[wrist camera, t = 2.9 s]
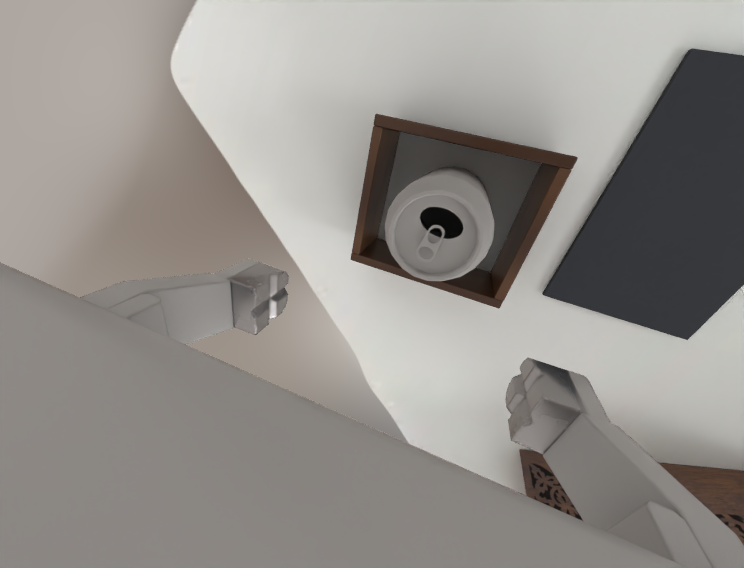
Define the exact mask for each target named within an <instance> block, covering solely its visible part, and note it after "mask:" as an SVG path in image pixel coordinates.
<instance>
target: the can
mask: <svg viewBox="0 0 744 568" xmlns="http://www.w3.org/2000/svg"><path fill="white" fill-rule="evenodd" d="M494 224H495V222H494V218H493V215H492V211H491V207H490V204H489V200H488V197H487V193H486V190H485V187H484V185H483V184H482V183H481V181H480V180H479V178H478V177H477V176H476V175H474V174H473V173H471V172H470V171H468V170H467V169H463V168H459V167H455V166H453V167H442V168H439V169H437V170H434V171H432V172H430V173H428V174H426V175H424V176H423V177H421V178H419V179H417V180H415V181H414V182H412V183H410V184H409V185H408V186H407V187H406V188H404V189H403V190H402V191H401V192H400V193H399V194H398V195H397V196H396V197H395V199H394V201H393V202H392V204H391V206H390V207H389V209H388V213H387V217H386V221H385V237H386V242H387V245H388V247H389V250H390V252H391V255H392V256H393V257H394V259H395V260H396V261H397V263H398V264H399V265H400V266H401V268H402V269H404V270H405V271H407V272H408V273H409V274H411V275H412V276H414V277H417V278H420V279H423V280H426V281H446V280H450V279H454V278H458V277H461V276H463V275H464V274H466V273H468V272H469V271H471V270H473V269H475V267H476V266H477V265H478V264H479V263H480V262H481V261H482V260H483V259H484V258H485V257H486V255H487V253H488V250H489V248H490V246H491V244H492V241H493V235H494Z"/></svg>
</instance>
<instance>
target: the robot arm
mask: <svg viewBox="0 0 744 568" xmlns="http://www.w3.org/2000/svg"><path fill="white" fill-rule="evenodd" d="M288 277H289V276H288V274H287V273H286V272H285V271H282V270H280V269H277V268H274V267H272V266H269V265H266V264H264V263H261V262H259V261H256V260H253V259H245V260H243V261H240V262H238V263H236V264H234V265H232V266H230V267H227V268H225V269H223V270H221V271H219V272H217V273H215V274H211V273H203V274H193V275H183V276H172V277H163V278H152V279H142V280H132V281H123V282H120V283H117V284H115V285H112V286H109V287H106V288H104V289H101V290H99V291H96V292H93V293H90V294H88V295H85V296H82V297H80V298H79V297H77V296H75V295H73V294H70V293H68V292H66V291H64V290H61V289H59V288H57V287H54V286H52V285H50V284H48V283H46V282H43V281H41V280H39V279H37V278H34V277H32V276H30V275H27V274H25V273H23V272H21V271H19V270H16V269H14V268H12V267H9V266H7V265H5V264H3V263H1V262H0V568H744V545H743V544H742V542H741V541H740V539H739V538H738V536H737V535H736V534H735V533H734V532H733V531H732V530H731V529H730V528H728V527H727V526H726V525H725V524H724V523H723V522H722V521H721V520H720V519H719V518H718V517H716V516H715V515H714V514H713V513H712V512H711V511H710V510H709V509H708V508H707V507H705V506H704V505H703V504H702V503H701V502H700V501H699V500H698V499H697V498H696V497H695V496H693V495H692V494H691V493H690V492H689V491H688V490H687V489H686V488H685V487H684V486H683V485H681V484H680V483H679V482H678V481H677V480H676V479H675V478H674V477H673V476H672V475H671V474H669V473H668V472H667V471H666V470H665V469H664V468H663V467H662V466H661V465H660V464H659V463H657V462H656V461H655V460H654V459H653V458H652V457H651V456H650V455H649V454H648V453H647V452H645V451H644V450H643V449H642V448H641V447H640V446H639V445H638V444H637V443H636V442H635V441H633V440H632V439H631V438H630V437H629V436H628V435H627V434H626V433H625V432H624V431H622V430H621V429H620V428H619V427H618V426H616V425H614V424H611V423H610V421H609V419H608V417H607V415H606V413H605V411H604V409H603V407H602V405H601V403H600V401H599V399H598V397H597V396H596V394H595V392H594V390H593V388H592V386H591V384H590V382H589V380H588V379H587V378H586V377H585V376H584V375H580V374H577V373H574V372H571V371H568V370H565V369H561V368H558V367H555V366H552V365H549V364H546V363H543V362H540V361H537V360H534V359H531V358H527V359H526V360H524V361H523V363H522V364H521V366H520V370H521V374H520V375H518V376H515V377H513V378H512V380H511V382H510V383H509V385H508V389H507V392H506V407H507V409H508V410H509V411H510V413H511V414H512V415H511V417H510V418H509V419H508V423H509V430H510V436H511V441H513V442H516V443H518V444H520V445H522V446H525V447H527V448H529V449H532V450H534V451H536V452H538V453H541V454H543V457H544V459H545V461H546V462H547V464H548V465H549V467H550V469H551V470H552V472H553V473H554V475H555V476H556V478H557V480H558V481H559V483H560V484H561V486H562V488H563V489H564V491H565V492H566V494H567V496H568V497H569V499H570V500H571V502H572V503H573V505H574V507H575V508H576V510H577V511H578V513H579V515H580V516H581V518H582V519H583V521H582V520H580V519H577V518H575V517H573V516H571V515H568V514H566V513H564V512H561V511H559V510H557V509H555V508H552V507H550V506H548V505H546V504H543V503H541V502H539V501H537V500H534V499H532V498H530V497H528V496H525V495H523V494H521V493H518V492H516V491H514V490H512V489H509V488H507V487H505V486H503V485H500V484H498V483H496V482H494V481H491V480H489V479H487V478H485V477H482V476H480V475H478V474H476V473H473V472H471V471H469V470H467V469H464V468H462V467H460V466H458V465H455V464H453V463H451V462H449V461H446V460H444V459H442V458H440V457H438V456H435V455H433V454H431V453H429V452H426V451H424V450H422V449H420V448H417V447H415V446H413V445H411V444H408V443H406V442H404V441H401V440H399V439H397V438H395V437H393V436H390V435H388V434H386V433H384V432H381V431H379V430H377V429H375V428H372V427H370V426H368V425H366V424H363V423H361V422H359V421H356V420H354V419H352V418H349V417H348V416H345V415H343V414H341V413H338V412H336V411H334V410H332V409H329V408H327V407H325V406H323V405H320V404H318V403H316V402H314V401H311V400H309V399H307V398H305V397H302V396H300V395H298V394H296V393H293V392H291V391H289V390H287V389H284V388H282V387H280V386H278V385H275V384H273V383H271V382H268V381H266V380H264V379H262V378H259V377H257V376H255V375H253V374H250V373H248V372H246V371H244V370H241V369H239V368H237V367H235V366H232V365H230V364H228V363H226V362H223V361H221V360H219V359H217V358H214V357H212V356H210V355H208V354H205V353H203V352H201V351H198V350H196V349H194V348H192V347H190V346H187V345H186V344H189V343H192V342H194V341H198V340H201V339H203V338H207V337H209V336H212V335H215V334H218V333H221V332H224V331H227V330H230V329H233V328H234V327H235V328H238V329H241V330H243V331H245V332H248V333H251V334H253V335H257V334H258V333H259V332H260V331H261V330H263V329H264V328H265V327H266V326H267V325H268V324H269V319H273V318H276V317H278V316H279V315H280V314H281V313H282V312H283V310H284V308H285V306H286V304H287V300H288V293H287V291H286V290H285V288H284V287H285V286H286V285H287V284H288Z"/></svg>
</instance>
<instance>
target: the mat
mask: <svg viewBox="0 0 744 568" xmlns="http://www.w3.org/2000/svg"><path fill="white" fill-rule="evenodd" d="M743 285H744V56H742V55H735V54H727V53H720V52H712V51H705V50H698V49H691V50H689V51H688V52H687V54H686V55H685V57H684V59H683V60H682V62H681V64H680V65H679V67H678V69H677V70H676V72H675V74H674V75H673V77H672V79H671V80H670V82H669V84H668V85H667V87H666V89H665V90H664V92H663V94H662V95H661V97H660V99H659V100H658V102H657V104H656V105H655V107H654V109H653V110H652V112H651V114H650V115H649V117H648V119H647V120H646V122H645V124H644V125H643V127H642V129H641V130H640V132H639V134H638V135H637V137H636V139H635V140H634V142H633V144H632V145H631V147H630V149H629V150H628V152H627V154H626V155H625V157H624V159H623V160H622V162H621V164H620V165H619V167H618V169H617V170H616V172H615V174H614V175H613V177H612V179H611V180H610V182H609V184H608V185H607V187H606V189H605V190H604V192H603V194H602V195H601V197H600V199H599V200H598V202H597V204H596V205H595V207H594V209H593V210H592V212H591V214H590V215H589V217H588V219H587V220H586V222H585V224H584V225H583V227H582V229H581V230H580V232H579V234H578V235H577V237H576V239H575V240H574V242H573V244H572V245H571V247H570V249H569V250H568V252H567V254H566V255H565V257H564V259H563V260H562V262H561V264H560V265H559V267H558V269H557V270H556V272H555V274H554V275H553V277H552V279H551V280H550V282H549V284H548V285H547V287H546V289H545V290H544V292H543V295H544V296H548V297H551V298H554V299H557V300H561V301H564V302H567V303H570V304H573V305H577V306H580V307H583V308H586V309H590V310H593V311H596V312H599V313H602V314H606V315H609V316H612V317H615V318H619V319H622V320H625V321H628V322H631V323H635V324H638V325H641V326H644V327H648V328H651V329H654V330H657V331H660V332H664V333H667V334H670V335H673V336H677V337H680V338H683V339H686V340H688V339H689V338H690V337H691V336H692V335H693V334H694V333H695V332H696V331H697V330H698V329H699V328H700V327H701V326H702V325H703V324H704V323H705V322H706V321H707V320H708V319H709V318H710V317H711V316H712V315H713V314H714V313H715V312H716V311H717V310H718V309H719V308H720V307H721V306H722V305H723V304H724V303H725V302H726V301H727V300H728V299H729V298H730V297H731V296H732V295H734V294H735V293H736V292H737V291H738V290H739V289H740V288H741V287H742V286H743Z"/></svg>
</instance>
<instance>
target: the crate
mask: <svg viewBox="0 0 744 568" xmlns="http://www.w3.org/2000/svg"><path fill="white" fill-rule="evenodd" d="M399 131H400V132H405V133H409V134H414V135H418V136H423V137H427V138H432V139H436V140H441V141H445V142H449V143H454V144H458V145H463V146H467V147H472V148H476V149H481V150H485V151H490V152H494V153H499V154H503V155H508V156H512V157H516V158H521V159H525V160H530V161H534V162H539V163H541V165H540V167H539V170H538V172H537V174H536V176H535V178H534V180H533V182H532V185H531V187H530V189H529V191H528V193H527V195H526V197H525V200H524V202H523V204H522V206H521V208H520V210H519V213H518V215H517V217H516V219H515V221H514V223H513V225H512V228H511V230H510V232H509V234H508V236H507V238H506V240H505V243H504V245H503V247H502V249H501V251H500V253H499V256H498V258H497V260H496V262H495V264H494V266H493V268H492V271H491V273H490V272H487V271H483V270H480V269H477V268H475V269H473V270H471V271H469V272H468V273H466V274H464V275H463V276H461V277H458V278H454V279H450V280H446V281H426V280H423V279H420V278H417V277H414V276H412V275H411V274H409V273H408V272H407V271H405V270H404V269H402V268H401V266H400V265H399V264H398V263H397V261H396V260H395V259H394V257H393V256H392V255H391V252H390V250H389V247H388V245H387V242H386V241H385V240H382V239H379V238H377V237H378V232H379V227H380V223H381V218H382V213H383V209H384V204H385V199H386V195H387V190H388V185H389V181H390V176H391V171H392V167H393V162H394V157H395V153H396V148H397V143H398V139H399V134H400V132H399ZM577 159H578V158H577V157H575V156H570V155H566V154H561V153H556V152H552V151H547V150H542V149H538V148H533V147H528V146H524V145H519V144H514V143H510V142H505V141H500V140H496V139H491V138H486V137H482V136H477V135H472V134H468V133H463V132H458V131H454V130H449V129H444V128H440V127H435V126H431V125H426V124H421V123H417V122H412V121H407V120H403V119H398V118H393V117H389V116H384V115H379V114H376V115H375V120H374V126H373V131H372V137H371V143H370V149H369V155H368V161H367V167H366V173H365V179H364V184H363V190H362V196H361V202H360V208H359V214H358V220H357V226H356V232H355V237H354V243H353V249H352V255H351V260H353V261H356V262H359V263H362V264H365V265H368V266H371V267H374V268H378V269H381V270H384V271H387V272H390V273H393V274H396V275H399V276H402V277H405V278H408V279H411V280H414V281H417V282H420V283H423V284H426V285H429V286H432V287H435V288H438V289H441V290H444V291H448V292H451V293H454V294H457V295H460V296H463V297H466V298H469V299H472V300H475V301H478V302H481V303H484V304H487V305H490V306H493V307H496V308H500V306H501V304H502V303H503V301H504V299H505V297H506V295H507V293H508V291H509V289H510V287H511V285H512V284H513V282H514V280H515V278H516V276H517V274H518V272H519V270H520V268H521V266H522V264H523V262H524V261H525V259H526V257H527V255H528V253H529V251H530V249H531V247H532V245H533V243H534V241H535V239H536V238H537V236H538V234H539V232H540V230H541V228H542V226H543V224H544V222H545V220H546V218H547V217H548V215H549V213H550V211H551V209H552V207H553V205H554V203H555V201H556V199H557V197H558V195H559V194H560V192H561V190H562V188H563V186H564V184H565V182H566V180H567V178H568V176H569V174H570V173H571V170H570V169H572V168H573V166H574V164H575V163H576V161H577Z"/></svg>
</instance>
